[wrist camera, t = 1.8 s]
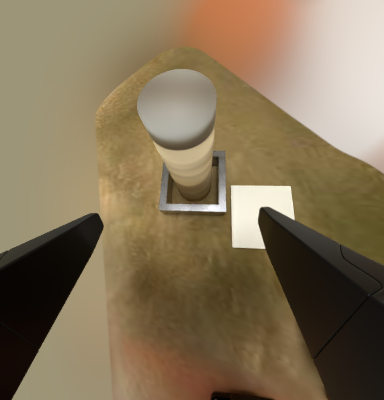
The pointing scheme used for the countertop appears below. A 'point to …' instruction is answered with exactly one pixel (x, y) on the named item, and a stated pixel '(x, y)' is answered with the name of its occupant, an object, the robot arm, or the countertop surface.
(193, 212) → the metal holder
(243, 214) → the off-white pad
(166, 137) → the beige cylinder grey cap
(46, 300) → the robot arm
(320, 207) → the countertop surface
